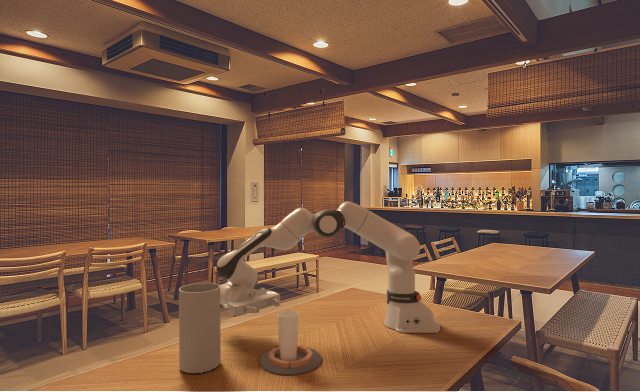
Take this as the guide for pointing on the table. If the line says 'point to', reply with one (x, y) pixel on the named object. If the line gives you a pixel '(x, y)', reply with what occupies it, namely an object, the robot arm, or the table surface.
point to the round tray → (290, 370)
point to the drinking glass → (288, 334)
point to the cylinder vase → (199, 327)
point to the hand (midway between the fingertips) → (268, 307)
